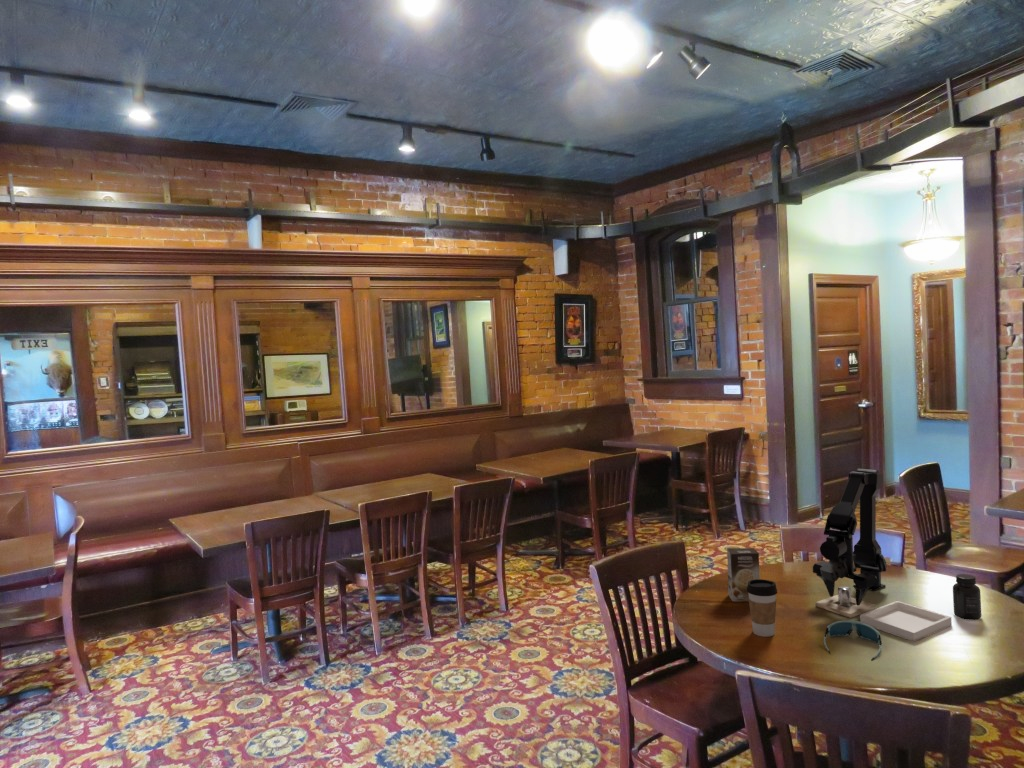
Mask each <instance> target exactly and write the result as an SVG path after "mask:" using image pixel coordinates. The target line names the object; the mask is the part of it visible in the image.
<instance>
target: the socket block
mask: <svg viewBox="0 0 1024 768" xmlns="http://www.w3.org/2000/svg"><path fill="white" fill-rule="evenodd" d="M815 607H818V608H820V609H823V610H827V611H830V612H832V613H835V614H837V615H840V616H844V617H846V618H849V619H851V618H855V617H857V616H860V615H861V614H863V613H866V612H869V611H871V610H874V609H876V604H874V603H871V602H867V601H865V600H862V602H861V604H860V605H857V604H856V597H855V598H854V597H852V596H851V607H848V608H846V607H843V606H840V605H839V603H838V594H835V595H833V597H830V596H829V597H827V598H824V599H821V600H818V601H815Z"/></svg>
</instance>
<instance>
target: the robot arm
mask: <svg viewBox="0 0 1024 768" xmlns="http://www.w3.org/2000/svg"><path fill="white" fill-rule="evenodd" d="M883 480H884V477H883V474H882V473H880V471H879V470H878V469H867V468H857V469H856V471H850V472H849V473H848V480H847V483H846V485H845V488H844V491H843V493H842V496H841V498H840V501H839V502H838V504H836V505H835V506H833V507H832V508H831V511H830V512H829V514H828V515H827V516H826V517H827V518H826V522H825V527H824V530H823V535H825V536H826V539H825V541H824V542H822V543H821V545H820V547H819V551H820V554H821V556H822V557H823V558H825V559H826V560H829V561H825V560H822V561H819V562H815V563H814V564H813V565H812V573H813V574H815V575H816V576H817V577H819V578H820V579H821V580H822V581H823V583H824V586H825V587H826V590H827V593H828V596H829V597H833V596H835V595H834V594H835V584H836V581H838V580H839V579H843V578H847V579H850V580H852V581H853V585H852V587H853V588H854V590H855V599H856V604H857V605H860V604H861V602H862V601H863V599H864V597H865V595H866V593H867V592H868V590H871V591H874V592H875V591H877V590H880V589H883V588H886V585H885V584H884V583H882V574H881V573H884V572H886V571H887V566H888V565H887V561H886V559H885V557H884V555H883V553H882V547H881V546H880V544H879V542H878V541H877V536H876V535H877V534H876V533H877V529H876V525H877V524H876V520H877V519H876V516H877V515H876V514H877V513H876V511H877V510H876V508H877V507H876V506H877V503H876V501H877V500H876V499H877V498H876V496H877V495H878V493H879V492H880V490H881V489H882V484H883V482H884V481H883ZM858 503H859V540H858V541H857V542H856V543H855V544H854V543H853V536H854V535H855V533H856V530H857V526H858V521H857V515H856V513H855V512H856V510H857V506H858ZM853 544H854V545H853ZM857 569H860V570H859V573H855V572H857Z"/></svg>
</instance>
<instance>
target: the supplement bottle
mask: <svg viewBox="0 0 1024 768" xmlns="http://www.w3.org/2000/svg"><path fill="white" fill-rule="evenodd" d="M955 579H956V581H955V582H956V583H955V584H953V585H952V599H953V601H952V602H953V603H952V604H953V614H954V616H955V617H957V618H959V619H962V620H967V621H977V620H980V619H982V601H981V599H982V597H981V596H982V595H981V588H980V587H979V586H978V585H977V579H976V576H975V575H972V574H967V573H960V574H956V577H955Z"/></svg>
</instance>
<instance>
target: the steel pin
mask: <svg viewBox="0 0 1024 768" xmlns="http://www.w3.org/2000/svg"><path fill="white" fill-rule="evenodd" d="M837 595H838V603H839V605H840V606H843V607H846V608H848V607H851V597H852V589H851V588H850V587H848V586H839V587H837Z"/></svg>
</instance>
